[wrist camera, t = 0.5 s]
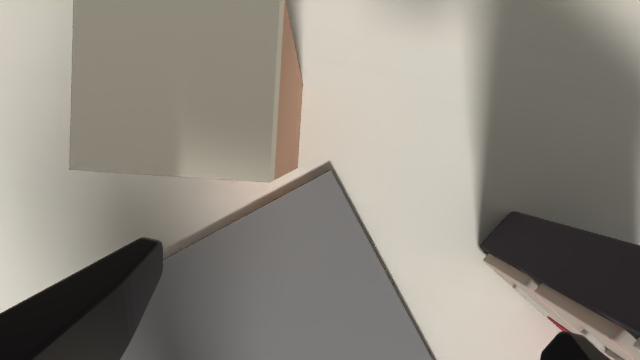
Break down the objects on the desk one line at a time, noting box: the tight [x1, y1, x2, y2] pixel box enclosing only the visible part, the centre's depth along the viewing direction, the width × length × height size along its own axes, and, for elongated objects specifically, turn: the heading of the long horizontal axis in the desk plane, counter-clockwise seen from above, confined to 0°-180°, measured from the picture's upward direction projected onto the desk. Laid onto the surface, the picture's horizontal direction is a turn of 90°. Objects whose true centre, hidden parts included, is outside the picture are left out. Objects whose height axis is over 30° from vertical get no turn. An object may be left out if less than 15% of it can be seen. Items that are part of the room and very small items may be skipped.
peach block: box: [69, 0, 303, 183], centre depth 15 cm, size 5×5×13 cm
